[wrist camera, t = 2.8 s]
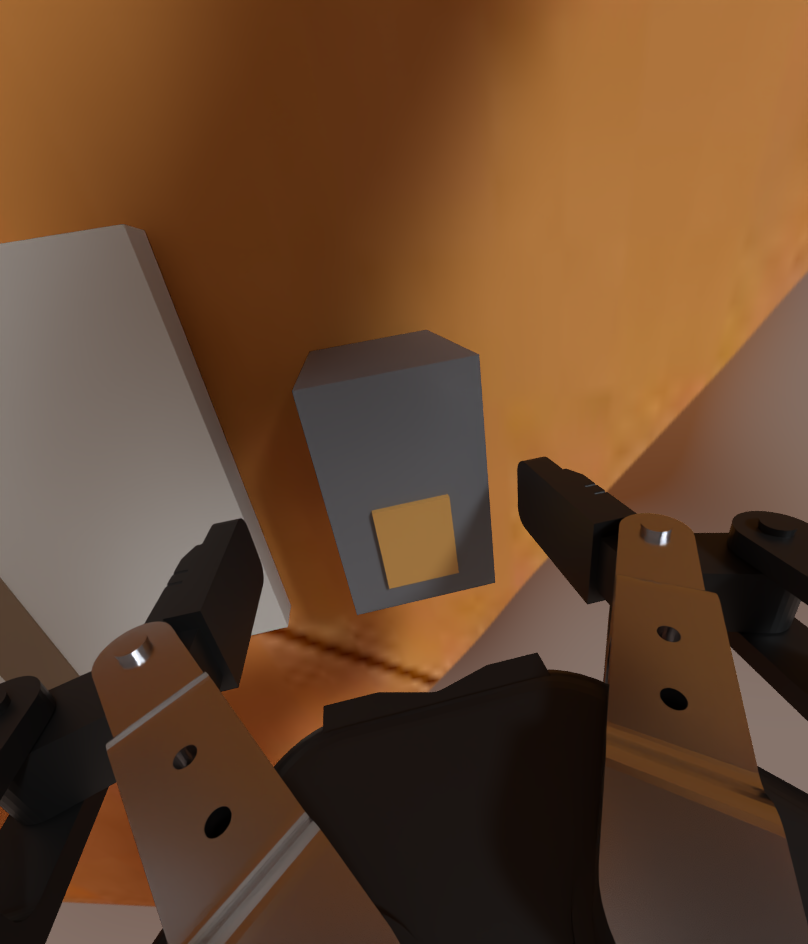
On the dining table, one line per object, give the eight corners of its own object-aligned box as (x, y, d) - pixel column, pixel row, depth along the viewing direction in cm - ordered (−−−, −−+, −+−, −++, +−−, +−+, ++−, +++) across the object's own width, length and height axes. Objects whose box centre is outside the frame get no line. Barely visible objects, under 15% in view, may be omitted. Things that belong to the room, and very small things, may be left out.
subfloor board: (116, 159, 13) (88, 143, 11) (300, 630, 23) (298, 654, 21) (-431, 241, 12) (-538, 235, 10) (11, 699, 21) (-12, 728, 20)
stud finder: (426, 329, 17) (481, 355, 10) (446, 491, 20) (497, 586, 14) (309, 351, 16) (291, 392, 10) (351, 511, 20) (357, 619, 13)
